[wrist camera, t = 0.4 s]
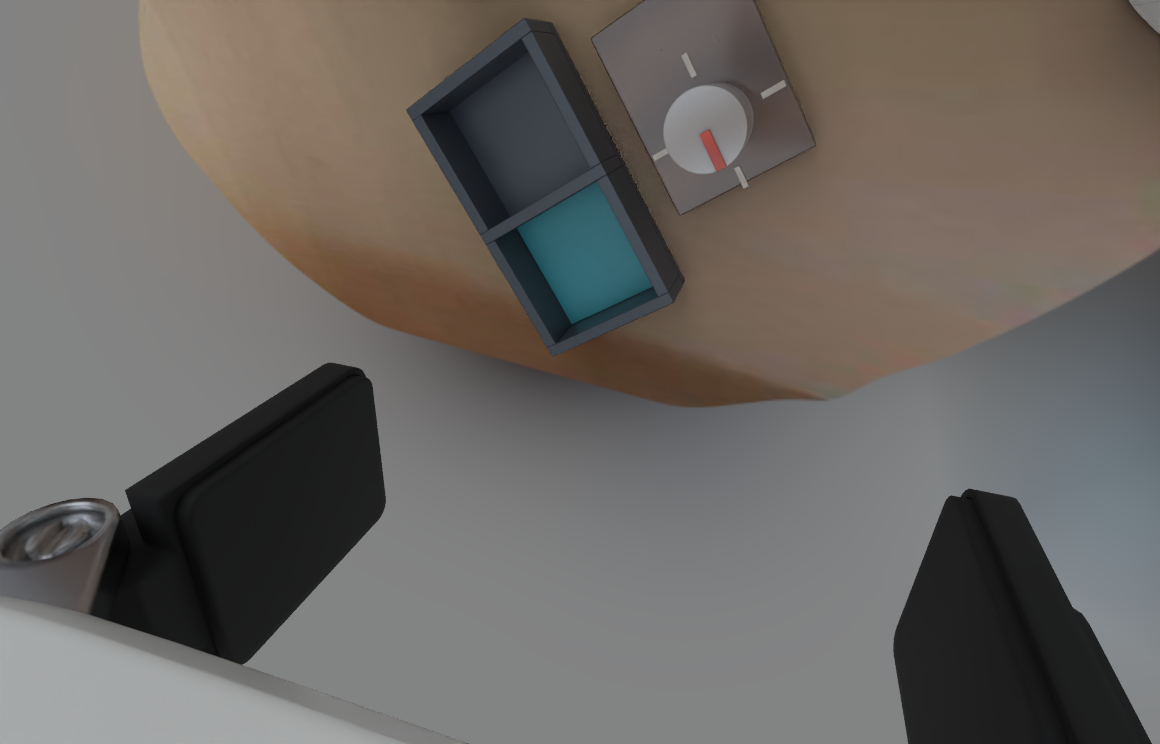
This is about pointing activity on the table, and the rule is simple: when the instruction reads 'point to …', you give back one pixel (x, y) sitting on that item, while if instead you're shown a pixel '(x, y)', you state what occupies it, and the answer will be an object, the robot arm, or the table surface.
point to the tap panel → (698, 57)
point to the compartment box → (547, 188)
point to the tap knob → (708, 127)
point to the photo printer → (1148, 11)
